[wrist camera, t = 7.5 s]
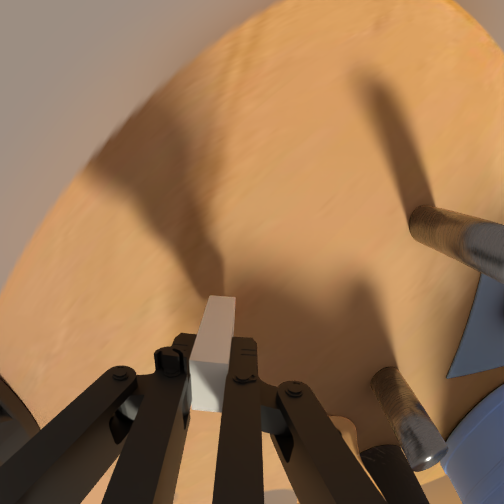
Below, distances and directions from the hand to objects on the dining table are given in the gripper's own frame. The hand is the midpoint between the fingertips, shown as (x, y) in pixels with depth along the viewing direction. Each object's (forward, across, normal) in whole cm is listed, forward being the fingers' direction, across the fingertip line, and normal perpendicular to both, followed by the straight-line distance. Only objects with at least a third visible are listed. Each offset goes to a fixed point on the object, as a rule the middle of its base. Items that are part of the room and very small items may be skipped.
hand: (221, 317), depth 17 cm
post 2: (+2, -13, -6) cm, 15 cm away
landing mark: (+2, -27, 0) cm, 27 cm away
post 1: (+2, -13, +6) cm, 15 cm away
